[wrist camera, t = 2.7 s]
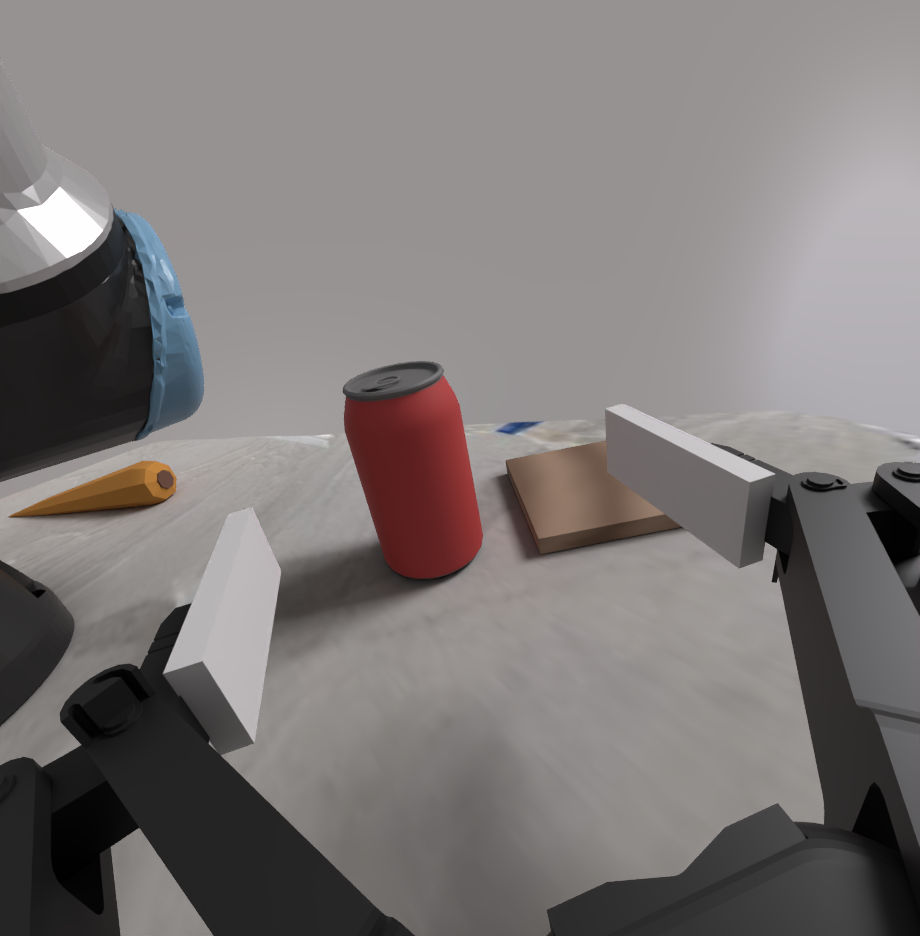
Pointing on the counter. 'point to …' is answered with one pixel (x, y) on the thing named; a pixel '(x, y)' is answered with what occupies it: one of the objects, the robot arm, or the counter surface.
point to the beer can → (414, 467)
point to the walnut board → (579, 499)
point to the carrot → (112, 491)
